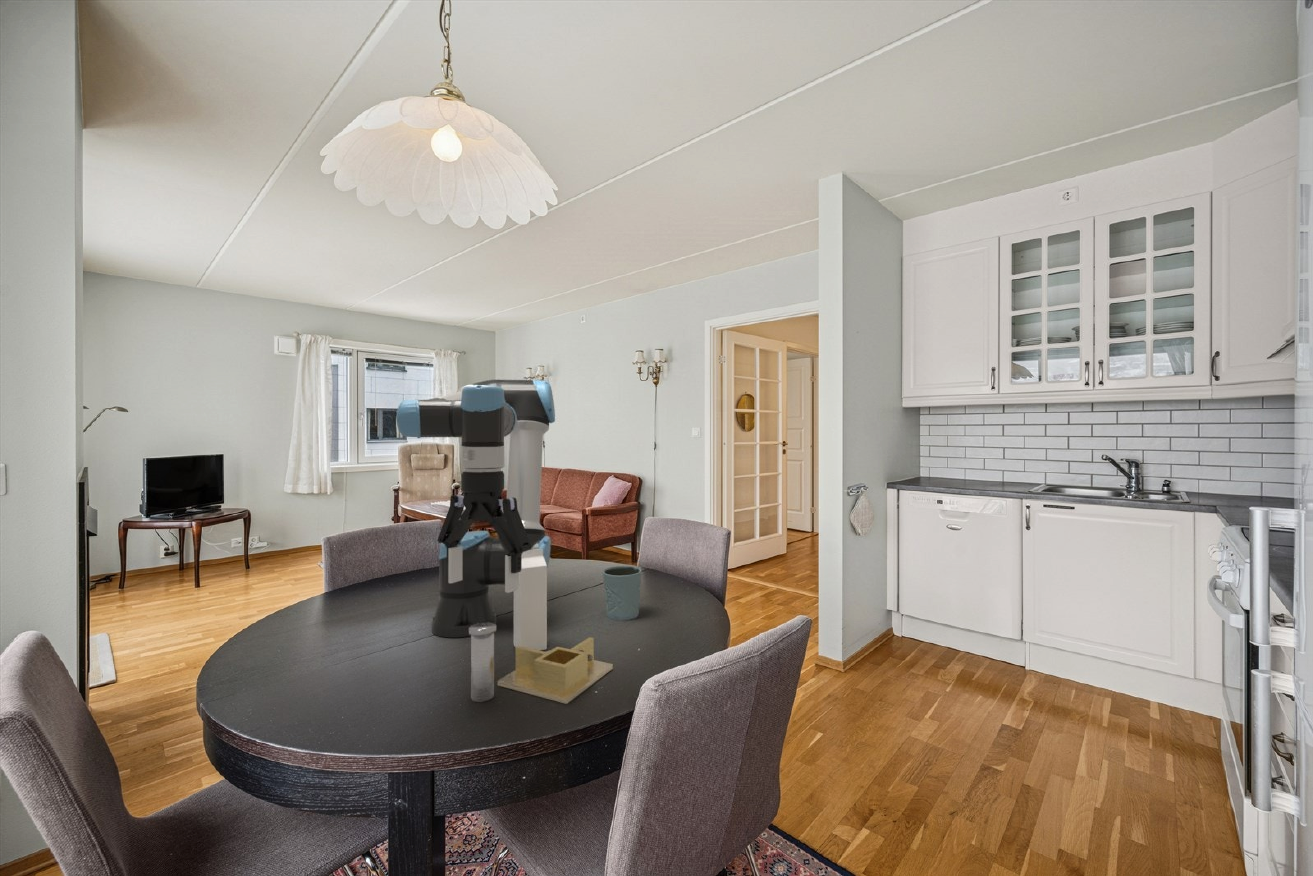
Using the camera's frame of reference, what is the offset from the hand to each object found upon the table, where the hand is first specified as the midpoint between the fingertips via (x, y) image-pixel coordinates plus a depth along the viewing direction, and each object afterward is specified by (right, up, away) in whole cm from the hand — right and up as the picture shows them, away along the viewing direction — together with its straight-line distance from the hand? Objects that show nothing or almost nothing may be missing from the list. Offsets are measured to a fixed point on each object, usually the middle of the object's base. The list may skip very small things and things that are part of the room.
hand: (482, 586), depth 98 cm
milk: (+3, -20, +23) cm, 31 cm away
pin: (0, -20, 0) cm, 20 cm away
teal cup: (+23, -20, +45) cm, 54 cm away
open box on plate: (+12, -20, +8) cm, 25 cm away
